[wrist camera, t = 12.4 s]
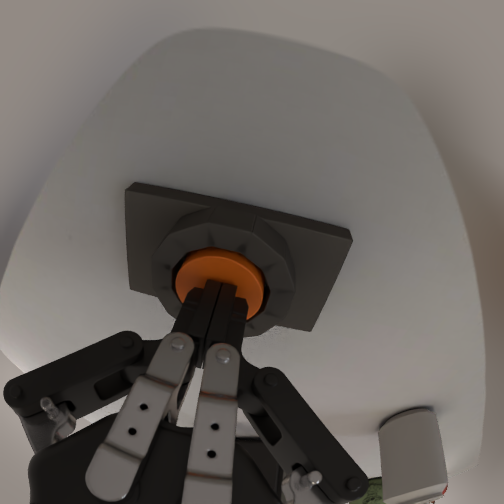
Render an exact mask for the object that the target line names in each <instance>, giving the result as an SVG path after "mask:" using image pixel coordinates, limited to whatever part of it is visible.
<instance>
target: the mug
mask: <svg viewBox="0 0 504 504" xmlns="http://www.w3.org/2000/svg"><path fill="white" fill-rule="evenodd" d="M349 504H386V503H384V502H383V488H382V478H377V479H372V480H369V488H368V490H367V492H366V494H365V495H364V496H363V497H362V498H360V499H358V500H355V501H352V502H349Z"/></svg>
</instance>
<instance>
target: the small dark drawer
mask: <svg viewBox="0 0 504 504" xmlns="http://www.w3.org/2000/svg"><path fill="white" fill-rule="evenodd" d="M237 443H238V444H240V445H241V446H242V447H243V448H245V449H246V450H247V451H248V453H249V454H250V455H251V456H252V458H253V459H254V461H255V462H256V464H257V466H258V467H259V469H260V470H261V472H262V473H263V475H264V476H265V478H266V479H267V481H268V482H269V484H270V485H271V487H272V488H273V490H274V491H275V493H276V492H277V482H278V472H279V463H278V462H277V461H276V459H275V458H274V457H273V455H272V454H271V452H270V451H269V450H268V448H267V447H266V445H265V444H264V443H241V442H237Z"/></svg>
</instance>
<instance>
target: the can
mask: <svg viewBox="0 0 504 504" xmlns="http://www.w3.org/2000/svg"><path fill="white" fill-rule="evenodd" d="M378 435H379V445H380V456H381V470H382V488H383V502H384V503H386V504H428V503H429V502H432V501H435V500H437V499H440V498H442V497H443V496H444V495H443V494H442V492H443V490H444V489H445V487H446V485H447V484H448V478H447V470H446V464H445V457H444V451H443V446H442V440H441V435H440V430H439V425H438V421H437V416H436V414H435V413H434V412H431V411H428V410H427V409H414V410H409V411H406V412H403V413H400V414H398V415H396V416H393V417H392V418H390V419H389V420H387V421H386V422H385V424H384V425H383V427H382V428H381V429H380V430H379V432H378Z"/></svg>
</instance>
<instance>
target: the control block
mask: <svg viewBox="0 0 504 504" xmlns="http://www.w3.org/2000/svg"><path fill="white" fill-rule="evenodd" d="M125 224H126V245H127V261H128V273H129V284H130V289H131V290H134V291H138V292H141V293H145V294H148V295H152V296H155V297H158V299H159V300H160V302H161V303H162V305H163V306H164V308H165V309H166V311H167V312H168V313H169V314H170V315H171V316H173V317H174V318H176V319H177V316H178V314H179V311H180V309H181V307H182V304H183V303H182V302H181V300H180V298H179V296H178V294H177V291H176V277H177V274H178V272H179V270H180V268H181V266H182V264H183V262H184V260H185V258H186V256H187V255H188V253H189V252H190V251H194V250H198V249H202V248H206V247H210V246H213V247H217V248H221V249H226V250H230V251H235V252H239V253H241V254H242V255H244V256H245V257H246V258H247V259H249V260H250V261H251V262H252V263H254V264H255V265H256V266H258V267H259V268H260V269H261V270H262V271H263V274H264V276H265V285H264V293H263V300H262V304H261V306H260V308H259V310H258V311H257V312H256V313H255V314H254V315H253V316H252V317H251V318H249V319H247V320H246V325H245V330H244V336H243V338H244V337H252V336H259V335H261V334H263V333H264V332H266V331H267V330H269V329H270V328H272V327H273V326H275V325H277V326H282V327H287V328H292V329H298V330H303V331H309V332H311V331H312V329H313V327H314V325H315V323H316V321H317V319H318V317H319V315H320V312H321V310H322V308H323V306H324V304H325V302H326V300H327V298H328V296H329V294H330V292H331V289H332V287H333V285H334V283H335V281H336V279H337V276H338V274H339V272H340V270H341V267H342V265H343V263H344V261H345V258H346V256H347V254H348V251H349V249H350V247H351V244H352V242H353V239H352V236H351V233H350V230H349V229H345V228H341V227H337V226H334V225H330V224H326V223H322V222H318V221H314V220H310V219H306V218H302V217H298V216H294V215H290V214H285V213H281V212H277V211H273V210H269V209H264V208H260V207H255V206H251V205H247V204H242V203H237V202H233V201H228V200H224V199H219V198H214V197H209V196H204V195H200V194H195V193H190V192H185V191H179V190H174V189H169V188H164V187H158V186H153V185H147V184H142V183H136V182H135V183H133V184H132V185H131V186H129V187H128V188H127V189H125Z"/></svg>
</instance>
